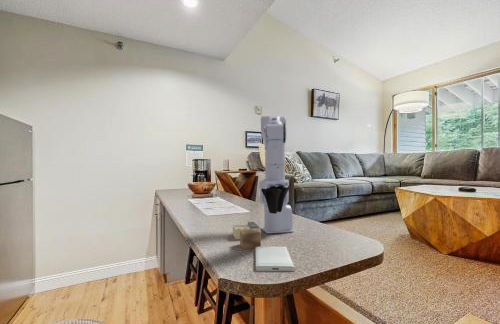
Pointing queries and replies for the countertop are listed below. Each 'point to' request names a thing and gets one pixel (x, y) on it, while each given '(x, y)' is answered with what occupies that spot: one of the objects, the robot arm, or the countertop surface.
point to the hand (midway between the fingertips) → (275, 212)
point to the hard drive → (273, 259)
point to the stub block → (250, 239)
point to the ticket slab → (244, 227)
